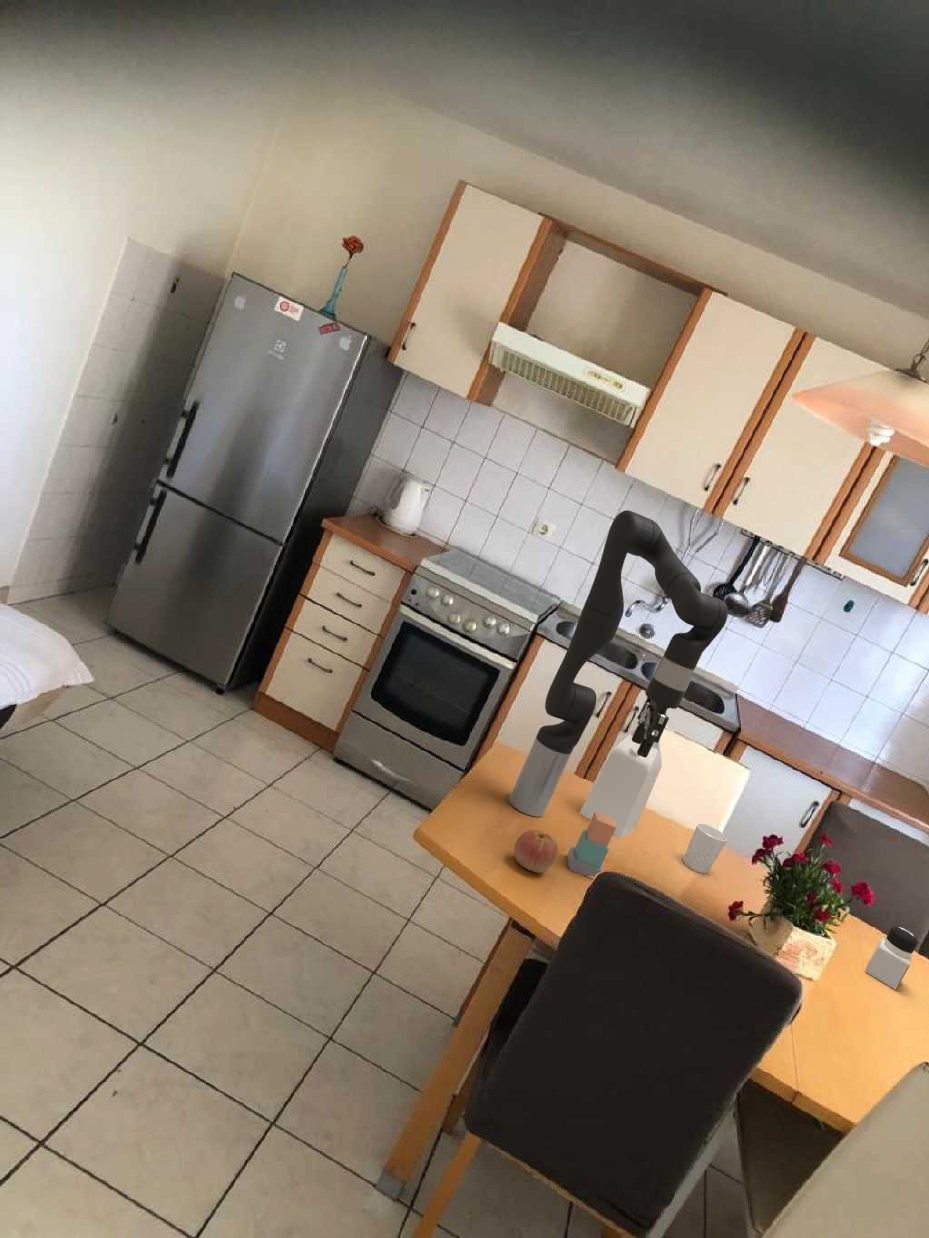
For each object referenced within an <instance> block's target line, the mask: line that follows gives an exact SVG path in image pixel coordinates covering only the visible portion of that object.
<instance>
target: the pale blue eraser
mask: <svg viewBox="0 0 929 1238" xmlns="http://www.w3.org/2000/svg"><path fill="white" fill-rule="evenodd" d="M575 847H576V846H572V845H571V846H570V847H569V850H568V853H567V855H566V858H567V859H566V860H567V864H568V865H567V866H568V870H569V871H571V872H573V871H575V872H574V873H576V872H577V873H576V874H579V873H580V874H579V875H581V874H583V875H582V876H584V875H586V876H590V877H591V876H593V877H595V875H596V874H597V873H599V872H601V871H603V872H604V869H603V864H602V865H601V867H600V869H599V868H596V867H593V866H591V865H588V864H586V863H583V862H581V861H578V860H576V854H575ZM586 876H585V877H586Z"/></svg>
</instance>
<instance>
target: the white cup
mask: <svg viewBox="0 0 929 1238" xmlns="http://www.w3.org/2000/svg"><path fill="white" fill-rule="evenodd" d="M727 841H728V837H727V835H725V834H724V833H723V832H721V831H720V830H719V829H718V828H715V827H714V826H711V825H709V824H707V823H702V822H700V823H697V825H696V827H695V829H694V831H693V834H692V836H691V838H690V841H689V843H688V846H687V848H686V852H685V853H684V856H683V858H682V861H683V863H684V864H685V866H687V867H688V868H689V869H691V870H693V871H694V872H697V873H700V874H705V875H706V874H708V873H709V872H710V870H711V869H712V866H713V865H714V863H715V862H716V860H717V858H718V857H719V856H720V854H721V852H722V850H723V848H724V846H725V845H726V843H727Z"/></svg>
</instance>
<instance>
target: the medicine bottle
mask: <svg viewBox="0 0 929 1238" xmlns="http://www.w3.org/2000/svg"><path fill="white" fill-rule="evenodd" d="M877 944H878V945H877V946H876V947H875V950H874V952H873V954H872V955H871V957H870V959H869V960H868V962H867V966H866V968H865V973H866V974H868V975H870V976H871V977H873V978H874V979H875V980H878V981H879V982H881V983H883V984H884V985H885V986H888V987H890V988H891V989H893V990H895V991H896V990H897V989H898V987H899V986H900V984H901V982H902V980H903V979H904V978H905V977H904V976H905V975H906V974H907V971H908V969H909V967H911V966H910V965H911V962H912V958H913V953H914V951H915V949H916V947H917V945H918V944H919V941H918V939H917V937H915V935H914V934H913V933H912V932H911V931H909V930H907V929H905V928H903V927H901V926H900V927H898V926H891V928H890V930H889V931H888V934H887V935H886V937H885V938H884V937H882V938H881V939H880V941H879V943H877Z"/></svg>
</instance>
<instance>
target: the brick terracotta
mask: <svg viewBox="0 0 929 1238" xmlns="http://www.w3.org/2000/svg"><path fill="white" fill-rule="evenodd" d="M615 829H616V825H615V822H614V819H613V818H610V817H607V816H605V815H602V814H600V813H597V812H595V813H594V815H593V817H592V819H591V820H590V821H589V823H588V826H587V828H586V829H585V830H586V834H587V839H588V840H589V841H592V842H595V843H597V844H600V845H602V846H605V847H607V846H608V847H609V844H610V842H611V839H612V837H613V835H614V834H613V833H614V831H615Z"/></svg>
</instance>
